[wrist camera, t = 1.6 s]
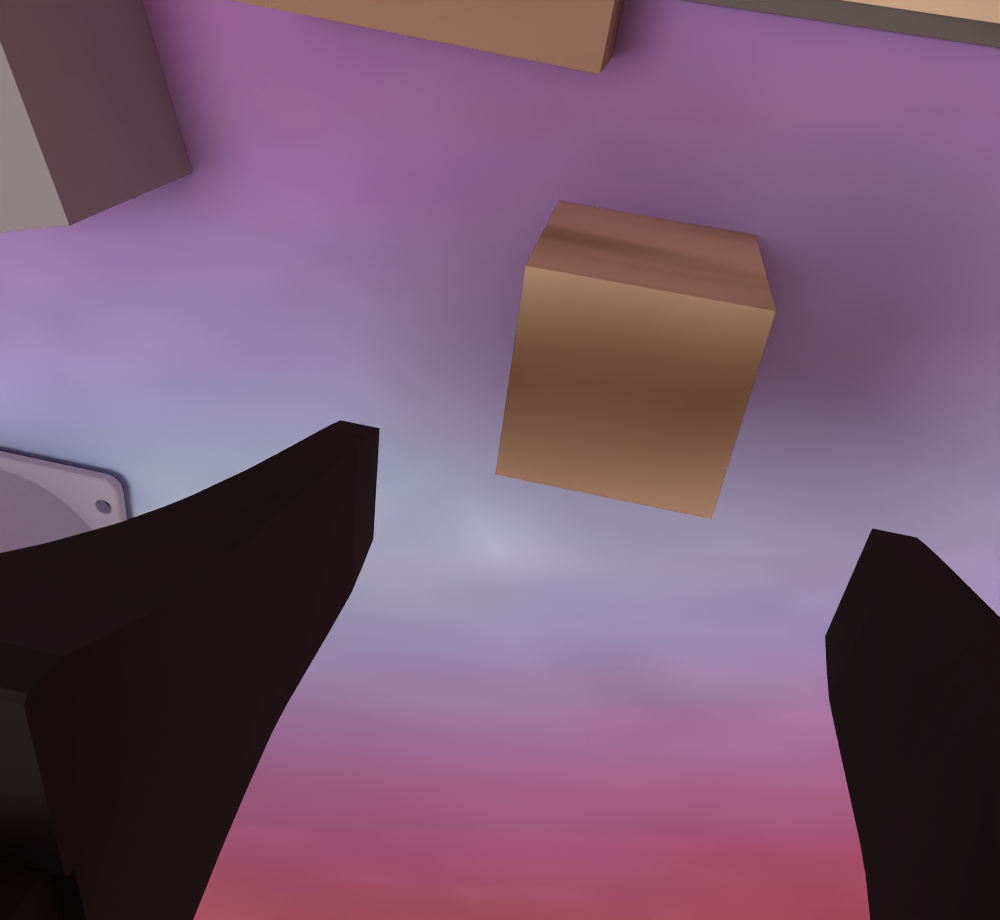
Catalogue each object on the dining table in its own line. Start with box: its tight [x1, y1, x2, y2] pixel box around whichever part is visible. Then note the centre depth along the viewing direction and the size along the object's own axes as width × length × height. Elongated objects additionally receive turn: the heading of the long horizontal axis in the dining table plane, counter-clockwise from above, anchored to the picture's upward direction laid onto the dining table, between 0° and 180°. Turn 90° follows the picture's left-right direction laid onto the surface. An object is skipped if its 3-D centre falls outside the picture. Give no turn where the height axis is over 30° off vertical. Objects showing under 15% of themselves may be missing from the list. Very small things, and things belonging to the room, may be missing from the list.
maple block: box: [496, 201, 776, 519], centre depth 18 cm, size 4×4×5 cm
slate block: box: [0, 0, 192, 233], centre depth 18 cm, size 4×4×5 cm
